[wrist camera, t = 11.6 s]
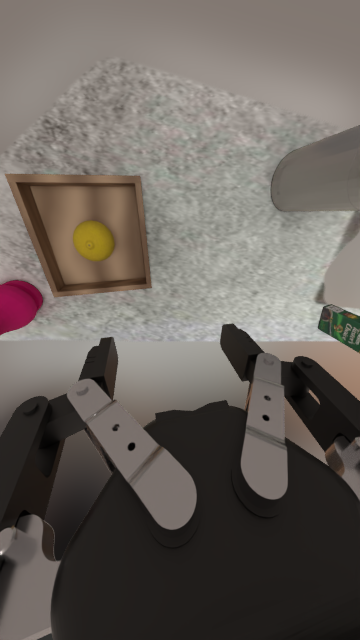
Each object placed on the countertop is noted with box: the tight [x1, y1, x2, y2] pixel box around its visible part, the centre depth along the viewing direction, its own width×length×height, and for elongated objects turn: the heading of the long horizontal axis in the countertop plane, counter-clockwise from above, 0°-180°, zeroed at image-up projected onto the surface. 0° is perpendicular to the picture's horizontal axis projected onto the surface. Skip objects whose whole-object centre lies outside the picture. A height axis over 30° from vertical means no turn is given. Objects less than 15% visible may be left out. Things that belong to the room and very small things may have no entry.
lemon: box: [73, 220, 115, 261], centre depth 27 cm, size 6×6×8 cm
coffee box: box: [318, 304, 360, 353], centre depth 48 cm, size 8×3×13 cm, turn 12°
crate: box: [5, 174, 152, 297], centre depth 29 cm, size 16×16×4 cm
